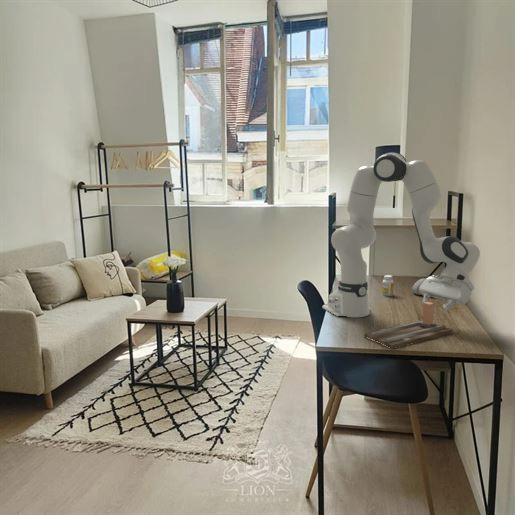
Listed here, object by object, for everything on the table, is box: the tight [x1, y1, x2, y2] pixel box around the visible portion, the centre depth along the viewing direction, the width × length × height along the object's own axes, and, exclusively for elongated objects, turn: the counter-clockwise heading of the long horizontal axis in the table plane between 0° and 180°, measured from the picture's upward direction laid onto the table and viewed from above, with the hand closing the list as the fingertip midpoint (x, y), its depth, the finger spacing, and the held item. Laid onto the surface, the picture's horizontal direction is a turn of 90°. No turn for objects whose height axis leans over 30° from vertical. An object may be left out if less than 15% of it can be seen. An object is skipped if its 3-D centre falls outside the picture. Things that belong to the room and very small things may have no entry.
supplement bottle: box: [381, 274, 395, 297], centre depth 230 cm, size 5×5×10 cm
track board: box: [363, 319, 453, 349], centre depth 173 cm, size 14×31×2 cm, turn 119°
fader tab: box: [419, 301, 438, 328], centre depth 176 cm, size 5×4×9 cm
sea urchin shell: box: [411, 277, 428, 297], centre depth 231 cm, size 13×14×8 cm
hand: (433, 306), depth 177 cm, fingers open, 8 cm apart
